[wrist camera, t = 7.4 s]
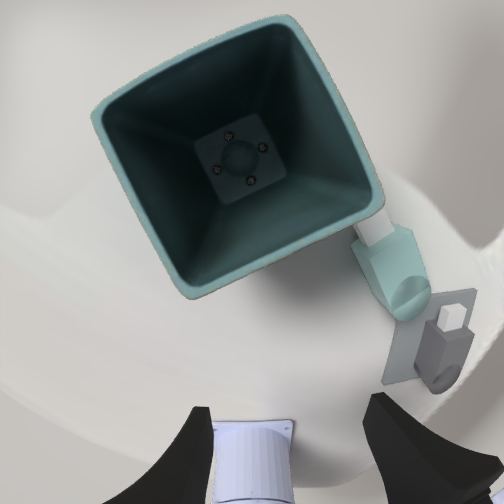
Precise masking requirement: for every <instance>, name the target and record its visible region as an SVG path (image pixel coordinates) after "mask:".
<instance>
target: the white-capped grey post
mask: <svg viewBox="0 0 504 504" xmlns="http://www.w3.org/2000/svg"><path fill="white" fill-rule="evenodd" d="M466 311H467V309H466V308H465V307H464V306H462V305H461V304H460V303H457V304H452V305H446V306H441V310H440V314H439V318H438V319H433V320H428V321H426V322H425V326H424V330H423V334H422V338H421V341H420V345H419V348H418V351H417V355H416V358H415V361H414V369H415V371H416V372H417V373H418V375H419V376H420V377H421V379H422V380H423V381H424V383H425V384H426V386H427V387H428V388H429V390H430V391H431V393H432V394H441V393H443V392H445V391H446V390H448V389H449V388H450V387H451V386H452V385H453V384H454V383H455V382H456V380H457V379H458V377H459V375H460V373H461V370H462V368H463V365H464V363H465V360H466V358H467V355H468V352H469V350H470V347H471V344H472V341H473V338H474V335H475V334H474V333H473V332H472V331H471V330H469V329H468V328H467V327H466V326H465V325H463V321H464V318H465V314H466Z"/></svg>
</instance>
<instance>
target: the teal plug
mask: <svg viewBox="0 0 504 504" xmlns="http://www.w3.org/2000/svg"><path fill="white" fill-rule="evenodd" d="M353 226H354V228H355V230H356V232H357V235H358V237H359V239H357V240H355V241H354V242H352V243H351V244H350V246H351V248H352V250H353V252H354V254H355V256H356V258H357V260H358V262H359V265H360V267H361V269H362V271H363V273H364V275H365V278H366V280H367V282H368V284H369V286H370V289H371V291H372V293H373V295H374V296H375V297H376V298H377V299H378V300H379V301H380V302H381V303H382V304H383V305H384V306H385V308H386V309H387V310H388V311H389V312H390V313H391V314H392V315H393V316H394V317H395V318H396V319H397V320H400V321H410V320H412V319H415V318H416V317H418V316H419V315H420V314H421V313H422V312H423V311H424V310H425V308H426V307H427V305H428V303H429V300H430V296H431V287H430V283H429V280H428V276H427V273H426V270H425V267H424V263H423V260H422V257H421V254H420V251H419V248H418V246H417V243H416V240H415V237H414V234H413V232H412V230H410V229H407V228H405V227H402V226H400V225H397V224H395V223H392V222H391V221H390V218H389V216H388V214H387V211H386V209H385V207H384V206H383V208H382V209H381V210H380V211H378V212H377V213H376V214H375V215H373V216H372V217H369V218H367V219H365V220H363V221H361V222H359V223H356V224H354V225H353Z"/></svg>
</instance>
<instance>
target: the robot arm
mask: <svg viewBox="0 0 504 504" xmlns="http://www.w3.org/2000/svg"><path fill="white" fill-rule="evenodd" d="M363 426H364V431H365V434H366V438H367V441H368V444H369V446H370V449H371V451H372V454H373V456H374V459H375V461H376V463H377V466H378V468H379V471H380V473H381V476H382V479H383V482H384V486H385V490H386V494H387V498H388V504H504V488H503V489H501V490H500V491H499V492H497V493H496V494H495V495H493V496H492V497H491V498H490V496H489V495H488V494H490V493H491V490H490V488H489V487H490V486H491V485H492V484H493V483H494V482H495V481H496V480H497V479H498V478H499V477H500V475H501V474H502V473H503V472H504V466H503V464H502V462H501V461H500V459H499V458H498V457H497V456H492V455H487V454H482V453H478V452H475V451H472V450H469V449H466V448H463V447H461V446H459V445H456V444H454V443H452V442H450V441H448V440H446V439H444V438H442V437H440V436H439V435H437V434H435V433H434V432H432V431H430V430H429V429H428V428H426V427H425V426H423V425H422V424H421V423H419V422H418V421H417V420H416V419H414V418H413V417H412V416H411V415H409V414H408V413H407V412H406V411H405V410H403V409H402V408H401V407H400V406H399V405H398V404H397V403H395V402H394V401H393V400H392V399H391V398H390V397H389V396H388V395H386V394H385V393H384V392H381V393H376V394H372V395H371V398H370V402H369V405H368V408H367V411H366V414H365V417H364V420H363ZM292 429H293V422H292V421H291V420H280V421H261V422H212V421H211V416H210V410H209V407H198V406H195V407H193V409H192V411H191V413H190V415H189V417H188V418H187V420H186V422H185V424H184V425H183V427H182V429H181V430H180V432H179V433H178V435H177V436H176V438H175V439H174V441H173V442H172V443H171V445H170V446H169V447H168V449H167V450H166V451H165V453H164V454H163V455H162V456H161V457H160V459H159V460H158V461H157V462H156V463H155V464H154V465H153V466H152V467H151V468H150V469H149V470H148V471H147V472H146V473H145V474H144V475H143V476H142V477H141V478H140V479H138V480H137V481H136V482H135V483H134V484H132V485H131V486H130V487H128V488H127V489H125V490H124V491H123V492H121V493H120V494H118V495H117V496H115V497H114V498H112V499H110V500H108V501H106V502H104V503H103V504H205V497H206V490H207V484H208V479H209V474H210V469H211V463H212V457H213V447H214V449H215V453H216V466H215V477H214V488H213V500H212V503H210V504H295V502H294V494H293V486H292V479H291V471H290V463H289V454H290V446H291V438H292Z"/></svg>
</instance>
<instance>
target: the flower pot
mask: <svg viewBox="0 0 504 504" xmlns="http://www.w3.org/2000/svg"><path fill="white" fill-rule="evenodd" d="M91 121H92V124H93V127H94V130H95V132H96V134H97V136H98V138H99V140H100V143H101V145H102V147H103V149H104V151H105V154H106V156H107V158H108V160H109V162H110V164H111V165H112V168H113V170H114V172H115V173H116V175H117V178H118V180H119V182H120V184H121V186H122V188H123V190H124V192H125V194H126V196H127V198H128V200H129V202H130V204H131V206H132V208H133V210H134V212H135V213H136V215H137V217H138V219H139V221H140V223H141V225H142V226H143V228H144V230H145V232H146V234H147V236H148V237H149V239H150V241H151V243H152V245H153V247H154V249H155V251H156V252H157V254H158V256H159V258H160V260H161V261H162V263H163V265H164V267H165V269H166V270H167V272H168V274H169V276H170V278H171V280H172V282H173V284H174V285H175V287H176V288H177V289H178V291H179V292H180V293H181V294H182V295H183V296H185V297H186V298H187V299H189V300H195V299H199V298H201V297H203V296H206V295H208V294H210V293H213V292H215V291H216V290H218V289H220V288H222V287H224V286H226V285H229V284H231V283H233V282H235V281H237V280H239V279H241V278H244V277H245V276H247V275H249V274H251V273H253V272H255V271H258V270H260V269H262V268H264V267H265V266H268V265H270V264H272V263H274V262H277V261H278V260H280V259H283V258H285V257H287V256H289V255H291V254H293V253H295V252H297V251H299V250H301V249H303V248H305V247H307V246H309V245H311V244H313V243H316V242H318V241H319V240H322V239H324V238H326V237H328V236H330V235H333V234H335V233H337V232H339V231H341V230H343V229H345V228H347V227H350V226H351V225H354V224H356V223H359V222H361V221H363V220H365V219H367V218H369V217H372V216H373V215H375V214H376V213H377V212H378V211H380V210H381V209H382V208H383V206H384V204H385V196H384V192H383V188H382V186H381V182H380V180H379V178H378V176H377V174H376V170H375V168H374V165H373V163H372V161H371V159H370V156H369V154H368V151H367V149H366V147H365V145H364V142H363V140H362V138H361V136H360V134H359V131H358V129H357V126H356V124H355V122H354V120H353V118H352V116H351V114H350V112H349V110H348V108H347V106H346V104H345V102H344V100H343V98H342V96H341V94H340V92H339V90H338V89H337V87H336V85H335V83H334V81H333V80H332V78H331V76H330V74H329V72H328V70H327V68H326V67H325V65H324V63H323V61H322V60H321V58H320V57H319V55H318V53H317V52H316V50H315V48H314V46H313V45H312V43H311V41H310V40H309V38H308V36H307V35H306V34H305V32H304V30H303V28H302V27H301V26H300V25H299V24H298V22H297V21H296V20H295V19H294V18H293V17H292V16H290V15H287V14H281V15H274V16H269V17H265V18H262V19H259V20H257V21H254V22H251V23H249V24H246V25H243V26H240V27H238V28H235V29H233V30H231V31H228V32H226V33H223V34H221V35H219V36H216V37H215V38H212V39H209V40H208V41H206V42H203V43H201V44H199V45H196V46H194V47H193V48H190V49H188V50H186V51H185V52H183V53H181V54H179V55H177V56H175V57H173V58H171V59H169V60H167V61H164V62H163V63H161V64H160V65H158V66H156V67H154V68H152V69H150V70H149V71H147V72H145V73H143V74H141V75H140V76H139V77H137V78H135V79H134V80H132V81H130V82H129V83H127V84H126V85H124V86H123V87H121V88H119V89H118V90H116V91H115V92H113V93H112V94H111V95H109V96H107V97H106V98H105V99H103V100H102V101H101V102H100V103H99V104H98V105H97V106H96V107H95V108H94V110H93V111H92V112H91ZM227 133H231V134H232V135H233V138H232V140H230V141H227V140H226V139H225V137H224V136H225V134H227ZM260 144H264V145H265V146H266V150H265V151H263V152H261V151H259V149H258V146H259V145H260ZM215 166H220V167H221V172H220V173H219V174H216V173H215V172H214V170H213V169H214V167H215ZM248 177H253V178H254V179H255V182H254V183H253V184H251V185H250V184H248V183H247V179H248Z"/></svg>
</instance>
